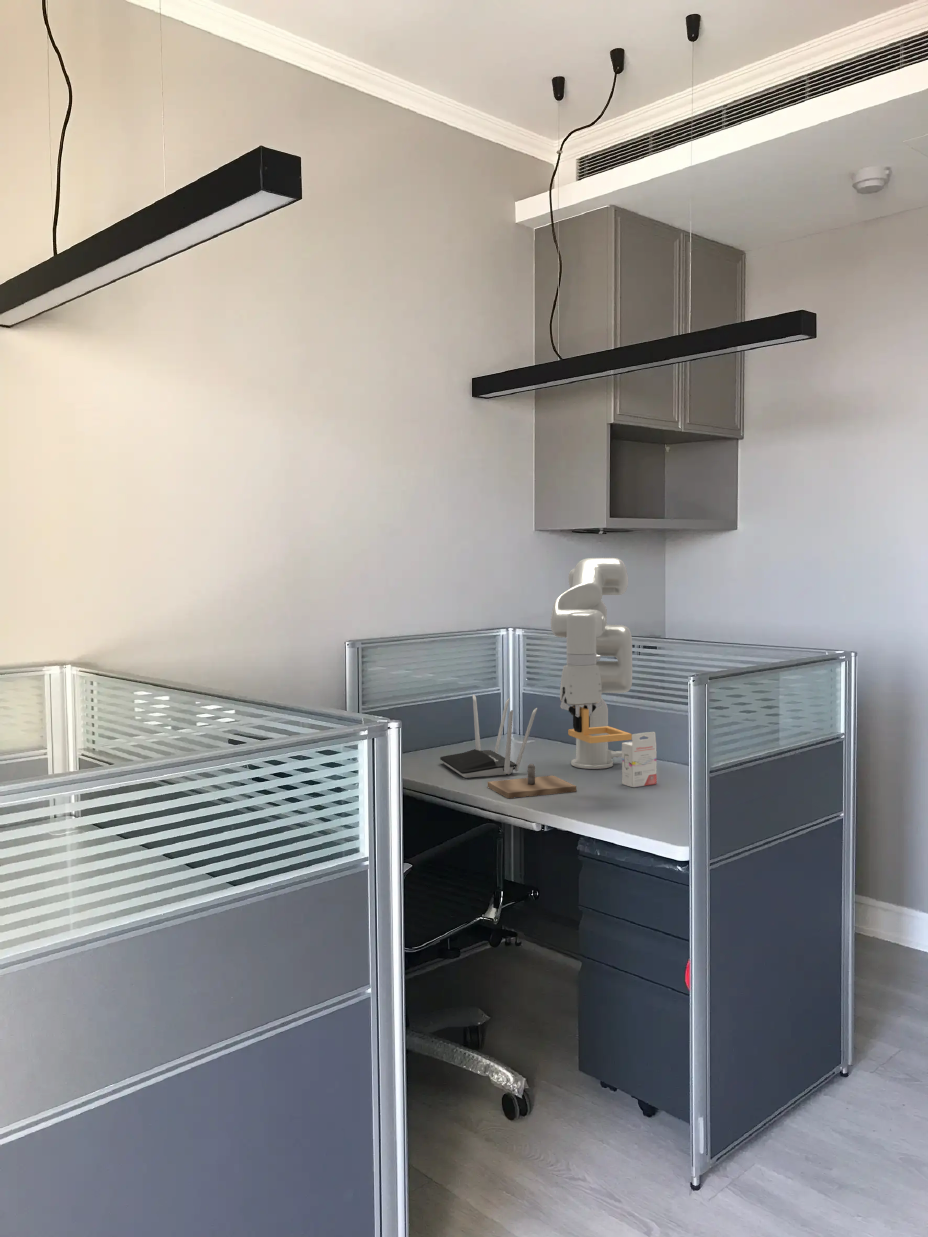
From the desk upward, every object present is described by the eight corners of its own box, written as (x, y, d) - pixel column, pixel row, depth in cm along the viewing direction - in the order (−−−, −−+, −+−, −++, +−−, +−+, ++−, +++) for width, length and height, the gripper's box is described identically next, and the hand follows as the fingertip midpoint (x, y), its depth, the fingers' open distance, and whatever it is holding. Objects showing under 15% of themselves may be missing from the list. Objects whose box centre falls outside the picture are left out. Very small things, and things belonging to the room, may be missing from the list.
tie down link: (608, 731, 264) (608, 702, 263) (631, 739, 252) (631, 708, 252) (568, 735, 259) (568, 704, 259) (590, 743, 248) (590, 712, 248)
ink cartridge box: (645, 780, 277) (646, 728, 276) (657, 784, 272) (657, 731, 271) (621, 784, 273) (621, 731, 272) (632, 787, 268) (632, 734, 267)
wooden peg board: (553, 780, 277) (553, 756, 277) (576, 791, 264) (576, 765, 264) (487, 787, 270) (487, 762, 270) (508, 798, 257) (507, 772, 257)
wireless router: (434, 760, 306) (433, 696, 305) (503, 755, 313) (503, 693, 312) (468, 784, 274) (467, 712, 273) (544, 777, 282) (544, 708, 280)
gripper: (600, 657, 259) (600, 726, 260) (547, 660, 253) (547, 731, 255) (615, 660, 252) (615, 731, 253) (560, 663, 246) (560, 736, 248)
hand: (581, 730), depth 254 cm, fingers closed on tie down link, 1 cm apart
